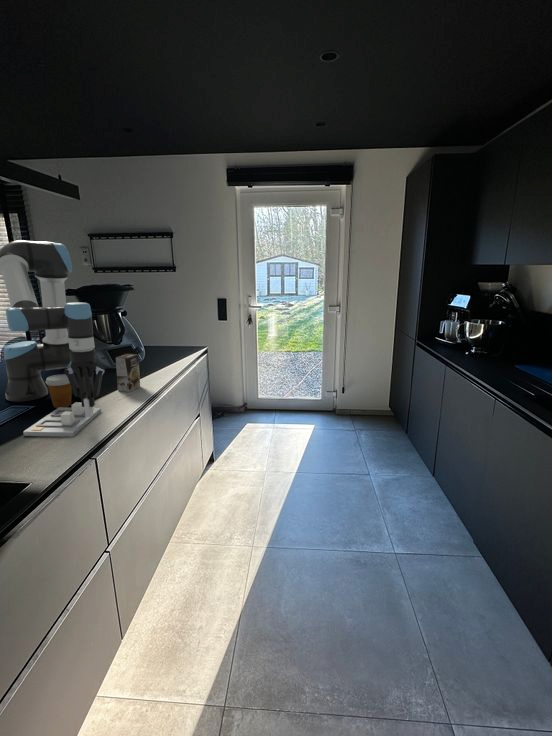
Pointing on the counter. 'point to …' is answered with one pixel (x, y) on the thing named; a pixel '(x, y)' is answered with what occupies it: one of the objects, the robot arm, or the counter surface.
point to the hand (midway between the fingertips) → (89, 415)
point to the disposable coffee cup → (59, 390)
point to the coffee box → (128, 372)
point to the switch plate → (59, 424)
